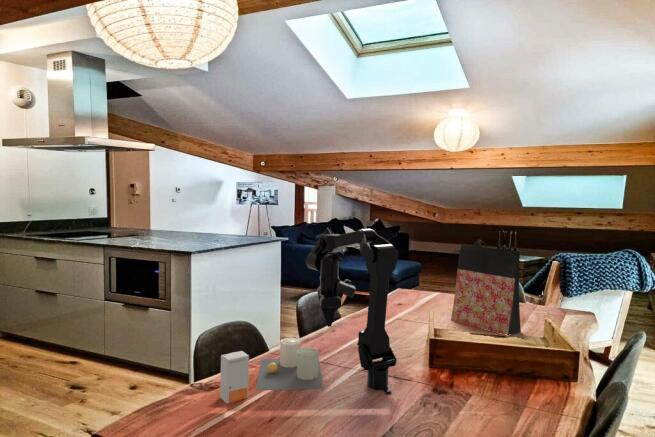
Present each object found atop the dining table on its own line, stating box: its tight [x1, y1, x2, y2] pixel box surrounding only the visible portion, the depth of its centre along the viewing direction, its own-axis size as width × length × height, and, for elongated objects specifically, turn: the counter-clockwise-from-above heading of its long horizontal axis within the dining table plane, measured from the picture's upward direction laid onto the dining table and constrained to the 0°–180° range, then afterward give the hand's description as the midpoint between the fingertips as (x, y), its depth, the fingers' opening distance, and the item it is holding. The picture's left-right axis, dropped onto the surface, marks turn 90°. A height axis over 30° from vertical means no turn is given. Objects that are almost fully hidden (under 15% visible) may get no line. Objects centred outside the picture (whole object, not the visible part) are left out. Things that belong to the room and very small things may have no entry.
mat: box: [255, 358, 324, 391], centre depth 131 cm, size 22×18×1 cm
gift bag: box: [450, 239, 522, 335], centre depth 186 cm, size 29×14×35 cm, turn 39°
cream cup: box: [279, 337, 301, 367], centre depth 137 cm, size 6×6×7 cm
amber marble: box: [267, 362, 278, 373], centre depth 130 cm, size 3×3×3 cm
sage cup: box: [297, 347, 320, 380], centre depth 129 cm, size 6×6×7 cm
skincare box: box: [219, 350, 250, 404], centre depth 114 cm, size 6×4×12 cm
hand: (328, 322), depth 144 cm, fingers open, 9 cm apart
